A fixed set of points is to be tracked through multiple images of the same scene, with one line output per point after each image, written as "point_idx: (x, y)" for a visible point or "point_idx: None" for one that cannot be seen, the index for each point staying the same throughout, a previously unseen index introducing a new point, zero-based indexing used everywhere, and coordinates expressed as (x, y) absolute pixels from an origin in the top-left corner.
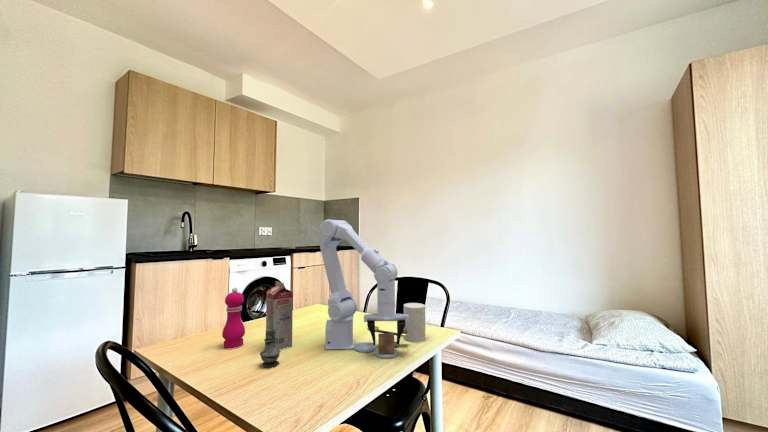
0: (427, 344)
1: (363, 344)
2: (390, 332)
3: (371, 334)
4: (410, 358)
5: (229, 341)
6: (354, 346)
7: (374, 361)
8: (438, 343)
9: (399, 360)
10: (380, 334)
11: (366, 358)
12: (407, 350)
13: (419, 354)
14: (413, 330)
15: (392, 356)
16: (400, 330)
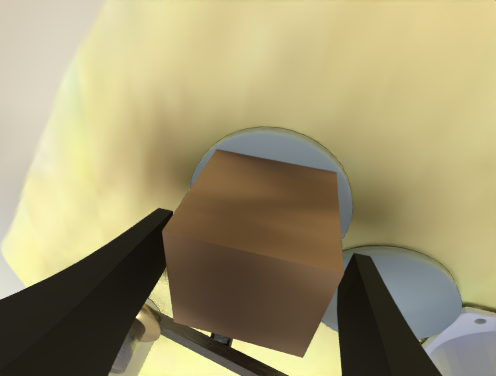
0: (54, 242)
1: None
2: (203, 349)
3: (427, 357)
4: (116, 98)
5: None
6: (451, 319)
7: (396, 98)
8: (10, 237)
9: (191, 78)
10: (290, 340)
11: (437, 167)
12: (141, 210)
13: (70, 145)
14: None
15: (235, 136)
16: (44, 300)
